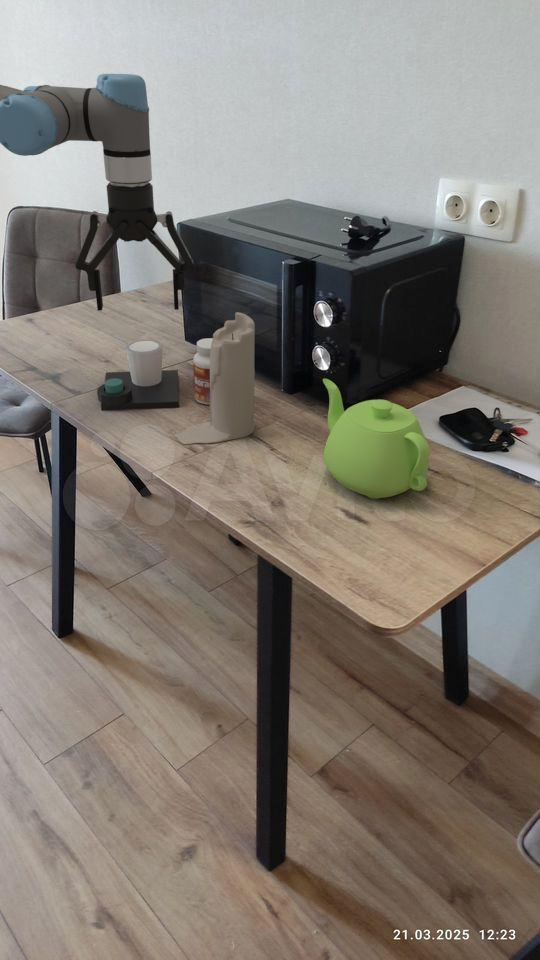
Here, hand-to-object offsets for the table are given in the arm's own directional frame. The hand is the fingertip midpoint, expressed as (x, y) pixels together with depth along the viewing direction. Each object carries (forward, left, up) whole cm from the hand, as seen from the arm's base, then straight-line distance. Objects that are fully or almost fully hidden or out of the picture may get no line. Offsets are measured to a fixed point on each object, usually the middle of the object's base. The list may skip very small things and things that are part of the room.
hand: (138, 307), depth 127 cm
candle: (+12, -20, -16) cm, 28 cm away
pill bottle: (+12, -7, -16) cm, 21 cm away
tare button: (-5, -7, -13) cm, 16 cm away
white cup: (0, 0, -15) cm, 15 cm away
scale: (-1, -3, -16) cm, 16 cm away
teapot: (+35, -36, -16) cm, 53 cm away
